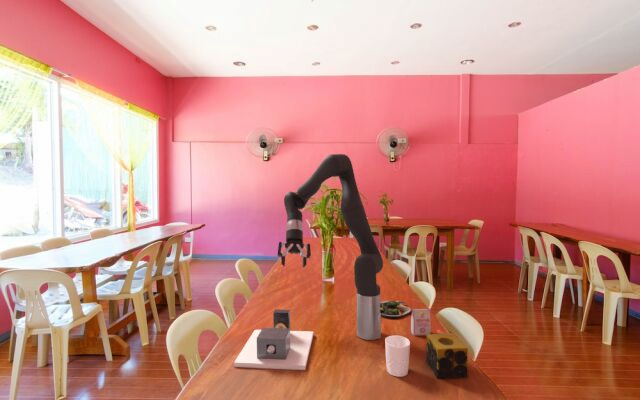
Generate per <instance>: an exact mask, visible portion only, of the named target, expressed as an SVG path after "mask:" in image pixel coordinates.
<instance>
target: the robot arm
mask: <svg viewBox="0 0 640 400" xmlns="http://www.w3.org/2000/svg"><path fill="white" fill-rule="evenodd" d="M354 172H355V171H354V167H353V164H352V161H351V159H350V157H349V155H347V154H343V153H337V154H336V153H335V154H328V155H327V156H326V157H325V158H324V159H323V160H322V162H321V163H320V164H319V165H318V167H316V170H315V171H314V172H313V173H312V175H311V176H310V177H309V178H308V179H307V180H305V181H304V182H303V183H302V184H301V185H300V186H299V187H298V188H297V190H296V192H295V191H288V192H286V194H285V195H284V198H283V203H284V204H283V205H284V207H285V208H284V209H285V211H286V215H287V217H286V229H285V242H284V243H283V242H281V241H279V242H278V247H277V257H280V258H281V261H280V262H281V263H280V264H281V266H282V267H285V266H286V256H287V255H288V254H290V255H291V254H295V255H298V254H299V256H301V257H302V268H305V267H306V265H307V259H310V258H311V256H312V254H311V253H312V252H311V251H312V250H311V244H310V243H307V244H306V243H305V244H304V225H303V213H302V211H301V210H302V209H304V208H305V207H306V206H307V204H308V201H309V200H310V199H311V198H312V197H313V196H315V195H316V194H317V193H318V192H319V191H320V190H321V186H322V184H323V183H324V182H325V181H326V180H329V179H330V178H335V177H336V178H337V177H338V179H339V181H340V185H341V189H342V190H341V191H342V193H341V194H342V195H341V199H340V212H341V214H342V218H343V221H344V224H345V227H346V228H347V229H348V231H349V232H350V233H351V234H352V236H353V237H354V239H355V241H356V242H357V244H358V247H359V250H360V255H358V256H357V257H356V259H355V261H354V265H353V266H354V271H353V272H354V285H355V288H356V336H357V337H358V338H360V339H363V340H366V341H374V340H377V339H382V332H381V331H382V325H381V324H382V317H381V314H380V303H381V286H380V285H379V284H377V274H379V273H380V272H381V271H382V270H383V267H384V261H383V256H382V255H381V252H380V250H379V247H378V246H377V243H376V241H375V239H374V236H373V232H372V229H371V226H370V223H369V220H368V217H367V214H366V210H365V208H364V205H363V202H362V198H361V196H360V192H359V188H358V186H357V185H358V184H357V182H356V177H355V173H354ZM284 247H285V250H284V251H283V252H282V249H283V248H284ZM304 249H305V251H306V253H305V251H304Z"/></svg>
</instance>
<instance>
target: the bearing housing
mask: <svg viewBox="0 0 640 400" xmlns="http://www.w3.org/2000/svg"><path fill="white" fill-rule="evenodd" d="M260 330H261V332H260V333H259V335H258V337H257V359H280V360H286V358H287V355H288V352H289V350H290V331H291V328H290V329H286V328H274V327H262V329H260ZM269 345H276V348H275V350H274V353H273V354H269V353H268V352H267V349H268V347H269Z"/></svg>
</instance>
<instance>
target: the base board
mask: <svg viewBox="0 0 640 400" xmlns="http://www.w3.org/2000/svg"><path fill="white" fill-rule="evenodd" d="M261 330H262V329H254V331H253V332H252V334H251V335H250V337H248V339H247V342H246V343H245V345H244V346H243V348H242V349H241V351H240V353H239V354H238V356H237V357H236V358H235V360H234V363H233V367H234V368H251V369H252V368H253V369H254V368H255V369H275V370H293V371H295V370H296V371H297V370H299V371H306V368H307V364H308V359H309V356H310V351H311V347H312V343H313V339H314V331H308V330H307V331H304V330H302V331H301V330H290V350H289V352H288V355H287V358H286V360H280V359H257V337H258V335H259V333H260V332H261Z"/></svg>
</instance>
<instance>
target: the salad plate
mask: <svg viewBox="0 0 640 400" xmlns="http://www.w3.org/2000/svg"><path fill="white" fill-rule="evenodd" d="M405 303H406V302H405V301H399V300H397V301H396V300H384V301H380V314H381V318H384V319H385V318H386V319H390V320H392V319H399V318H402V317H404V316H407V315H408V314H409V313H411V312H412V309H411V308H410V307H409V306H406V305H403V304H405ZM401 311H403V313H401Z"/></svg>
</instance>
